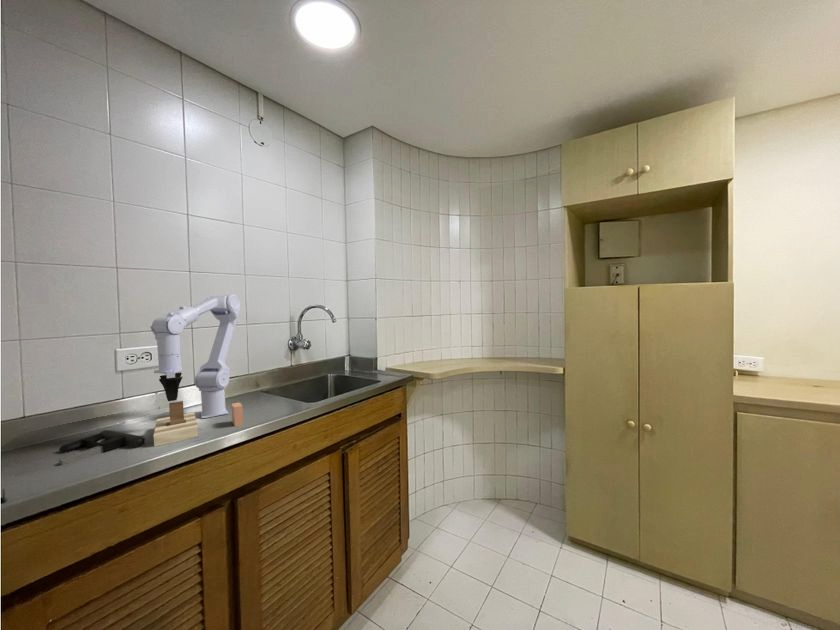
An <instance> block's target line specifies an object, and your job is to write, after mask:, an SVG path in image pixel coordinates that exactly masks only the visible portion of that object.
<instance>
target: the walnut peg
mask: <svg viewBox="0 0 840 630" xmlns="http://www.w3.org/2000/svg"><path fill="white" fill-rule="evenodd" d="M168 407H169V408H168V409H169V417H170V426H171V425H176V424H181V423H184V414H185V412H184V401H183V400H179V401H171V402H169V403H168Z"/></svg>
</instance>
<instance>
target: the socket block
mask: <svg viewBox="0 0 840 630" xmlns="http://www.w3.org/2000/svg"><path fill="white" fill-rule="evenodd" d="M198 428H199V427H198V423H197V419H196V414H195V412H189V413H184V423H181V424H176V425H171V426H170V416H166V417H162V418H157V419H156V421H155V427H154V432H153V446H154V447H157V446H161V445H162V446H163V445H167V444H171V443H176V442H181V441H184V440H185V441H186V440H190V439H195V438H198V437H199V429H198Z"/></svg>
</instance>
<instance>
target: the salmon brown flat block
mask: <svg viewBox="0 0 840 630" xmlns="http://www.w3.org/2000/svg"><path fill="white" fill-rule="evenodd" d="M243 407H244V406H243V405H242V403H241V402H234V403H233V402H232V403H231V420H232V421H231V422H232V424H233V426H234V427H238V426H243V425H244V409H243Z"/></svg>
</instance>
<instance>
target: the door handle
mask: <svg viewBox="0 0 840 630" xmlns="http://www.w3.org/2000/svg"><path fill="white" fill-rule="evenodd" d="M146 439H148V437H146V438H145V437H143V436H141V435H135V434H132V433H131V434H130V433H126V432H121V431H114V430H109V429H104V430H102V431H101V432H99V433H97V434H92V435H90V436H87V437H83V438H80V439H78V440H73V441H71V442H67V443H65V444H63V445H61V446H60V447H59V449H58V451H59V453H61V452H62V453H61V454H66V453H65V452H67V453H70V451H71V452H73V450H74V451H77V450H80V448H81V449H84V448H85V450H82V451H80V452H76V453H74V454H71V455H68V456H65V457H62V458H60V459H59V460H58V461H59V463H58V464H59V465H61V466H64V465H67V464H71V463H74V462H77V461H79V460H83V459H87V458H90V457H94V456H97V455H99V454H102V453H109V452H111V451H114V450H118V449H122V448H124V447H129V448H130V447H132V448H139V447H140V448H141V447H143V446H144V445H145V443H146ZM83 447H84V448H83Z"/></svg>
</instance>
